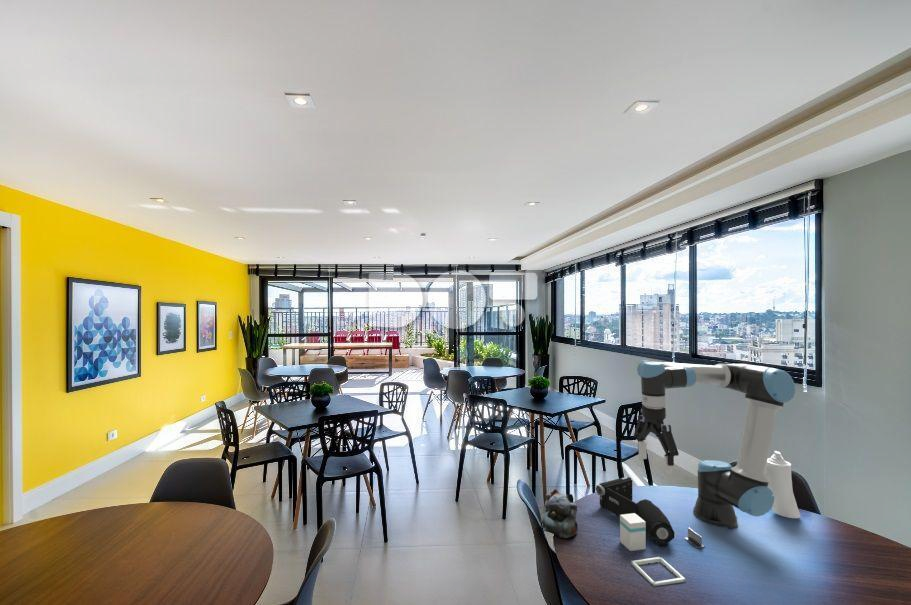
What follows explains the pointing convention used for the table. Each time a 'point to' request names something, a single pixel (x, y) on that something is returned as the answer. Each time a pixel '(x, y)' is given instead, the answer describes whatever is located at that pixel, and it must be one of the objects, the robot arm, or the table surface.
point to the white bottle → (781, 486)
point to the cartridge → (632, 532)
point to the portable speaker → (655, 522)
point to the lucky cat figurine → (560, 515)
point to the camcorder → (617, 496)
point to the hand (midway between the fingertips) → (655, 466)
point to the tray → (660, 559)
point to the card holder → (694, 539)
